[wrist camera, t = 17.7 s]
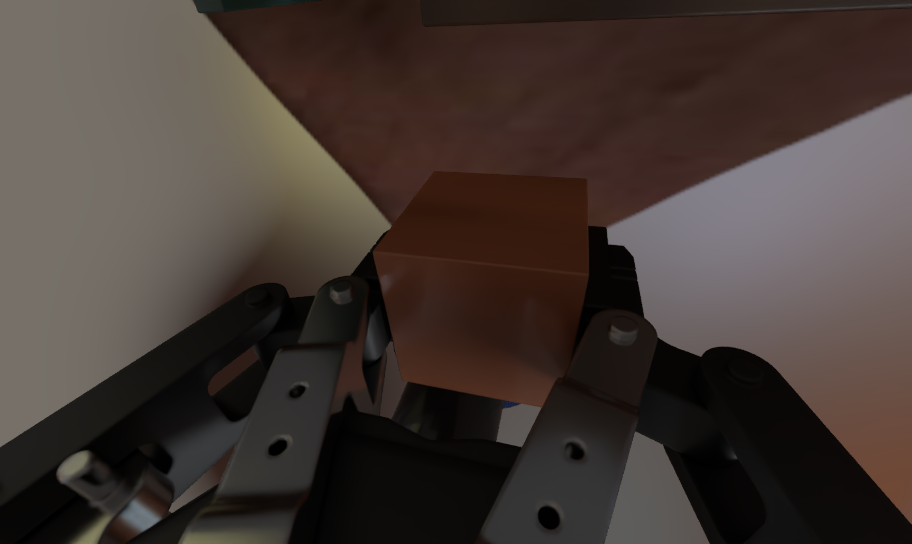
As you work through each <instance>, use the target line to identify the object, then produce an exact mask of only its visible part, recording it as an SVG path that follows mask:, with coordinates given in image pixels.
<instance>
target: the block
mask: <svg viewBox="0 0 912 544" xmlns="http://www.w3.org/2000/svg"><path fill="white" fill-rule="evenodd" d="M373 256H374V261H375V265H376V269H377V274H378V278H379V282H380V287H381V291H382V296H383V300H384V304H385V309H386V313H387V317H388V322H389V326H390V330H391V335H392V339H393V344H394V348H395V352H396V357H397V361H398V365H399V370H400V374H401V378H402V380H403V381H408V382H413V383H418V384H423V385H428V386H434V387H439V388H444V389H449V390H454V391H460V392H465V393H470V394H475V395H480V396H485V397H491V398H496V399H501V400H506V401H511V402H516V403H522V404H527V405H533V406H537V407H542V406H543V404H544V402H545V400H546V398H547V396H548V394H549V392H550V390H551V388H552V386H553V384H554V382H555V381H556V379H557V378H558V377H561V378H563V376H564V374H565V372H566V370H567V368H568V366H569V364H570V362H571V360H572V358H573V355H574V350H575V345H576V340H577V335H578V329H579V324H580V319H581V314H582V309H583V304H584V299H585V294H586V288H587V283H588V278H589V247H588V192H587V179H580V178H559V177H539V176H519V175H499V174H479V173H459V172H439V171H435V172H433V174H432V175H431V176H430V178H429V179H428V180H427V182H426V183H425V184H424V185H423V187H422V188H421V189H420V191H419V192H418V193H417V195H416V196H415V197H414V198H413V200H412V201H411V202H410V204H409V205H408V206H407V208H406V209H405V210H404V211H403V213H402V214H401V215H400V217H399V218H398V219H397V220H396V222H395V223H394V224H393V226H392V227H391V228H390V230H389V231H388V232H387V233H386V235H385V236H384V237H383V239H382V240H381V241H380V243H379V244H378V245H377V246H376V248H375V249H374V250H373Z"/></svg>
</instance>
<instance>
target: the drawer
mask: <svg viewBox="0 0 912 544" xmlns="http://www.w3.org/2000/svg"><path fill="white" fill-rule="evenodd" d="M313 1H321V0H194V3H195V5H196V8H197V11H198V12H199V13H215V12H229V11H237V10H246V9H254V8H262V7H271V6H279V5H288V4H296V3H304V2H313Z"/></svg>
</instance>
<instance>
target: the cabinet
mask: <svg viewBox="0 0 912 544" xmlns="http://www.w3.org/2000/svg"><path fill="white" fill-rule="evenodd" d="M911 8H912V0H421V11H422V22H423V25H424V26H425V27H433V26H460V25H486V24H513V23H539V22H566V21H592V20H619V19H645V18H672V17H698V16H725V15H751V14H778V13H805V12H831V11H858V10H884V9H911Z"/></svg>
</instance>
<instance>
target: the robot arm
mask: <svg viewBox="0 0 912 544" xmlns="http://www.w3.org/2000/svg"><path fill="white" fill-rule="evenodd" d="M388 231H389V230H388ZM388 231H386V232H385V233H383V235H382V236H381V237H380V238H379V240H378V241H377V242H376V244H375V245H374V246H373V247H372V249H371V250H370V252H368V254H367V255H366V256H365V258H364V259H363V260H362V261H361V263H360V264H359V265H358V267H357V268H356V269H355V271H354V272H353V273H352V274H351V275H350V276H343V277H338V278H335V279H333V280H331V281H329V282H327V283H325V284H324V285H323V286H322V287H321V288H320V289H319V290H318V292H317V294H316V296H305V297H296V298H290V297H289V295H288V292H287V290H286V288H285V287H284V286H283V285H281V284H278V283H264V284H260V285H256V286H253V287H251V288H249V289H247V290H245V291H243V292H242V293H240V294H239V295H237V296H236V297H234V298H232V299H231V300H229V301H228V302H226V303H225V304H223V305H221V306H220V307H218V308H217V309H215V310H214V311H212V312H211V313H209V314H207V315H206V316H204V317H203V318H201V319H200V320H198V321H197V322H195V323H193V324H192V325H190V326H189V327H187V328H186V329H184V330H183V331H181V332H179V333H178V334H176V335H175V336H173V337H172V338H170V339H169V340H167V341H165V342H164V343H162V344H161V345H159V346H158V347H156V348H155V349H153V350H151V351H150V352H148V353H147V354H145V355H144V356H142V357H141V358H139V359H137V360H136V361H134V362H133V363H131V364H130V365H128V366H126V367H125V368H123V369H122V370H120V371H119V372H117V373H115V374H114V375H112V376H111V377H109V378H108V379H106V380H105V381H103V382H101V383H100V384H98V385H97V386H96V387H94V388H92V389H91V390H89V391H87V392H86V393H84V394H83V395H81V396H80V397H78V398H76V399H75V400H74V401H72V402H70V403H69V404H67V405H66V406H64V407H63V408H61V409H59V410H58V411H56V412H55V413H53V414H52V415H50V416H49V417H47V418H45V419H44V420H42V421H41V422H39V423H38V424H36V425H34V426H33V427H31V428H30V429H28V430H27V431H25V432H23V433H22V434H20V435H19V436H17V437H16V438H14V439H13V440H11V441H9V442H8V443H6V444H5V445H3V446H2V447H0V544H604V543H605V540H606V536H607V532H608V529H609V525H610V521H611V518H612V514H613V510H614V507H615V502H616V499H617V495H618V492H619V488H620V484H621V481H622V477H623V474H624V470H625V466H626V463H627V459H628V455H629V452H630V448H631V444H632V441H633V437H634V433H635V431H636V432H638V433H640V434H642V435H644V436H646V437H648V438H650V439H653V440H655V441H657V442H659V443H661V444H663V446H664V449H665V451H666V453H667V455H668V457H669V460H670V461H671V464H672V465H673V468H674V470H675V472H676V474H677V476H678V478H679V480H680V482H681V484H682V487H683V489H684V491H685V493H686V495H687V497H688V499H689V501H690V503H691V505H692V507H693V510H694V512H695V514H696V516H697V518H698V520H699V522H700V524H701V526H702V528H703V530H704V532H705V534H706V536H707V539H708V541H709V543H710V544H912V524H911V523H910V522H909V521H908V520H907V519H906V518H905V516H904V515H903V514H902V513H901V512H900V511H899V510H898V508H896V506H895V505H894V504H893V503H892V502H891V500H890V499H889V498H888V497H887V496H886V495H885V494H884V492H883V491H882V490H881V489H880V488H879V487H878V486H877V484H876V483H875V482H874V481H873V480H872V479H871V477H870V476H869V475H868V474H867V473H866V472H865V471H864V470H863V468H862V467H861V466H860V465H859V464H858V463H857V461H856V460H855V459H854V458H853V457H852V456H851V455H850V454H849V452H848V451H847V450H846V449H845V448H844V447H843V446H842V444H841V443H840V442H839V441H838V440H837V439H836V437H835V436H834V435H833V434H832V433H831V432H830V431H829V429H828V428H827V427H826V426H825V425H824V424H823V423H822V421H821V420H820V419H819V418H818V417H817V416H816V414H815V413H814V412H813V411H812V410H811V409H810V408H809V406H808V405H807V404H806V403H805V402H804V401H803V400H802V398H801V397H800V396H799V395H798V394H797V393H796V392H795V390H794V389H793V388H792V387H791V386H790V385H789V384H788V382H787V381H786V380H785V379H784V378H783V377H782V376H781V374H780V373H779V372H778V371H777V370H776V369H775V368H774V367H773V366H772V365H770V364H769V363H768V362H766V361H765V360H763V359H762V358H760V357H758V356H756V355H755V354H752V353H750V352H747V351H745V350H741V349H738V348H733V347H715V348H711V349H709V350H707V351H706V352H705V353H704V354H703V355H702V357H700V356H697V355H695V354H692V353H689V352H686V351H684V350H681V349H678V348H676V347H674V346H671V345H669V344H667V343H666V342H664V341H662V340H661V339H659V338H658V337H657V332H656V330H655V328H654V327H653V325H651V323H650V322H648V321H647V320H646V319H645V318H644V313H643V307H642V302H641V296H640V291H639V285H638V281H637V274H636V271H635V269H636V268H635V263H634V257H633V256H632V255H631V254H630V252H629V251H628V250H627V249H626V248H625V247H624V246H619V245H608V238H607V228H606V227H597V226H588V247H589V278H588V283H587V288H586V294H585V299H584V304H583V309H582V314H581V319H580V324H579V329H578V335H577V340H576V345H575V350H574V355H573V358H572V360H571V362H570V364H569V366H568V368H567V370H566V372H565V374H564V376H563V378H561V377H558V378H557V379H556V381H555V382H554V384H553V386H552V388H551V390H550V392H549V394H548V396H547V398H546V400H545V402H544V404H543V406H542V408H541V410H540V412H539V414H538V416H537V418H536V420H535V422H534V424H533V426H532V428H531V430H530V432H529V434H528V436H527V438H526V441H525V442H524V445H523V446H522V447H518V446H514V445H509V444H504V443H500V442H496V440H497V435H498V429H499V424H500V420H501V414H502V409H503V405H504V400H501V399H496V398H491V397H485V396H480V395H475V394H470V393H465V392H460V391H454V390H449V389H444V388H439V387H434V386H428V385H423V384H418V383H413V382H407V385H406V387H405V389H404V391H403V394H402V396H401V398H400V400H399V403H398V405H397V407H396V410H395V412H394V414H393V416H392V419H389V418H386V417H381V416H380V407H381V399H382V392H383V384H384V377H385V369H386V362H387V355H386V350H385V349H386V347H387V345H388V344H389V342H390V341H392V342H393V339H392V335H391V330H390V326H389V322H388V317H387V313H386V309H385V304H384V300H383V296H382V291H381V287H380V282H379V278H378V274H377V269H376V265H375V261H374V256H373V250H374V249H375V248H376V246H377V245H378V244H379V243H380V241H381V240H382V239H383V237H384V236H385V235H386V233H387V232H388ZM250 347H252V348H253V350H254V352H255V354H256V355H257V357H258V360H257V361H256V362H255V363H253V364H252V365H251V366H250V367H248V368H247V369H246V370H245V371H243V372H242V373H241V374H239V375H238V376H237V377H236V378H235V379H234V380H232V381H231V382H229V383H228V384H227V385H226V386H225V387H223V388H222V389H221V390H219V391H218V392H217V393H216V394H214V395H213V396H210V395H209V393H208V384H209V382H210V380H211V379H212V377H213V376H214V375H215V374H216V373H218V372H219V371H220V370H222V369H223V368H224V367H225V366H227V365H228V364H229V363H231V362H232V361H233V360H235V359H236V358H237V357H239V356H240V355H241V354H242V353H244V352H245V351H246V350H248V349H249V348H250ZM234 445H236V447H235V449H234V451H233V453H232V456H231V458H230V460H229V463H228V465H227V467H226V469H225V472H224V475H223V476H222V479H221V481H220V483H219V484H217V485H216V486H214V487H213V488H211V489H209V490H208V491H206V492H204V493H203V494H201V495H200V496H198V497H197V498H195V499H194V500H192V501H190V502H189V503H187V504H186V505H184V506H182V507H181V508H179V509H178V510H176V511H175V512H173V513H171V512H169V511H168V510H169V509H170V507H171V504H172V503H173V502H174V501H175V500H176V499H177V498H178V497H180V496H181V495H182V494H183V493H184V492H185V491H186V490H187V489H188V488H189V487H190V486H191V485H192V484H193V483H195V482H196V481H197V480H198V479H199V478H200V477H201V476H202V475H203V474H204V473H205V472H206V471H207V470H209V469H210V468H211V467H212V466H213V465H214V464H215V463H216V462H217V461H218V460H219V459H220V458H221V457H223V456H224V455H225V454H226V453H227V452H228V451H229V450H230V449H231V448H232V447H233V446H234Z"/></svg>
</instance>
